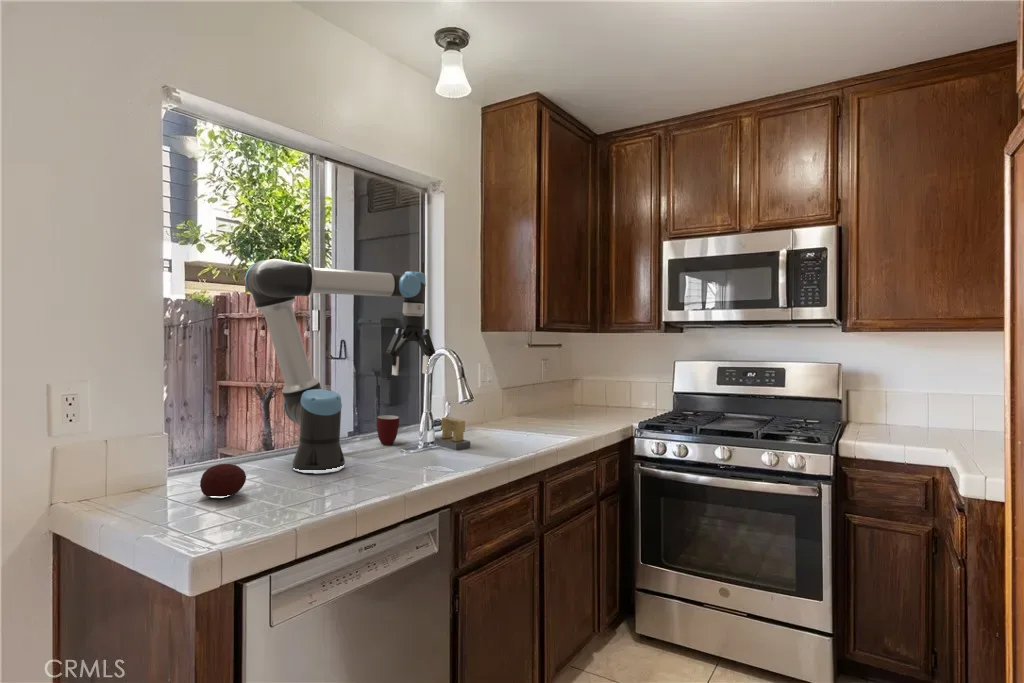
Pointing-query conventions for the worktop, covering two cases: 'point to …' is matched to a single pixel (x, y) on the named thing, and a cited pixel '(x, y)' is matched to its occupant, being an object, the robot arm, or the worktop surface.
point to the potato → (222, 480)
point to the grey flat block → (452, 443)
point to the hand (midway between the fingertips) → (410, 374)
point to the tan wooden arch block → (453, 429)
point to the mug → (387, 428)
